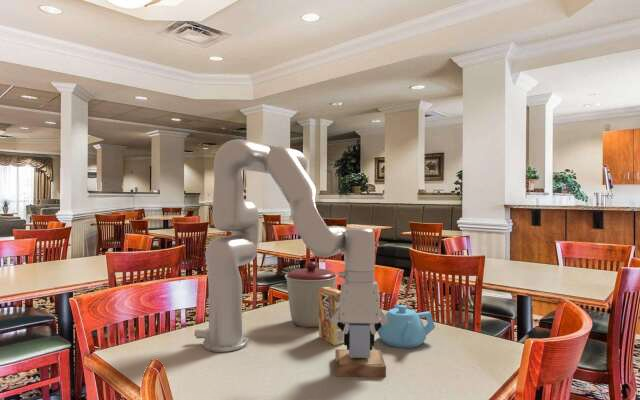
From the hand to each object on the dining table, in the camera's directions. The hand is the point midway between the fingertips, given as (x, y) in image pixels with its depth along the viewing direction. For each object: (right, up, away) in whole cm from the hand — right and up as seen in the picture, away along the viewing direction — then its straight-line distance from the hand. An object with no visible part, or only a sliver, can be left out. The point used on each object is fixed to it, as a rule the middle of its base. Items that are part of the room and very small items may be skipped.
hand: (359, 347), depth 106 cm
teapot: (+15, -5, +20) cm, 25 cm away
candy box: (-6, -5, +20) cm, 22 cm away
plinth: (0, -5, 0) cm, 5 cm away
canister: (-13, -5, +37) cm, 40 cm away
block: (0, -2, 0) cm, 2 cm away
